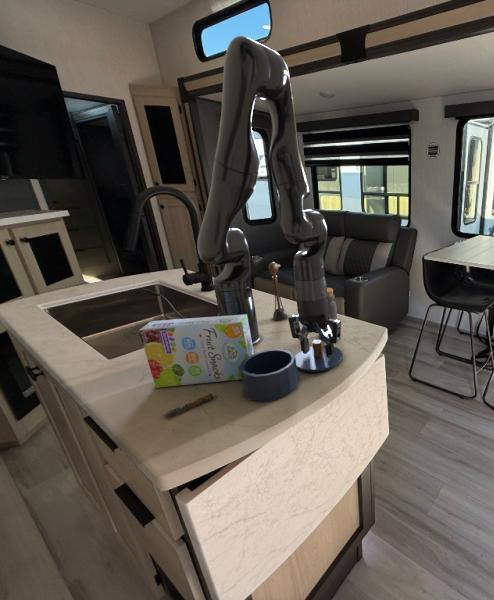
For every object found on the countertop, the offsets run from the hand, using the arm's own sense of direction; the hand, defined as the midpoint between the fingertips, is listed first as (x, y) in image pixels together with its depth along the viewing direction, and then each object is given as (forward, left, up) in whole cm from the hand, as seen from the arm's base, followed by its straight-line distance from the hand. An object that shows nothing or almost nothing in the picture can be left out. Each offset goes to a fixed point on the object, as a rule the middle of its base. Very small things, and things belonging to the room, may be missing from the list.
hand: (317, 353), depth 84 cm
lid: (0, 0, -1) cm, 1 cm away
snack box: (-22, -14, -2) cm, 26 cm away
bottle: (-4, +14, -2) cm, 15 cm away
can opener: (-17, -24, -2) cm, 29 cm away
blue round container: (-5, -13, -2) cm, 14 cm away
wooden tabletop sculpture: (-27, +23, -2) cm, 36 cm away
